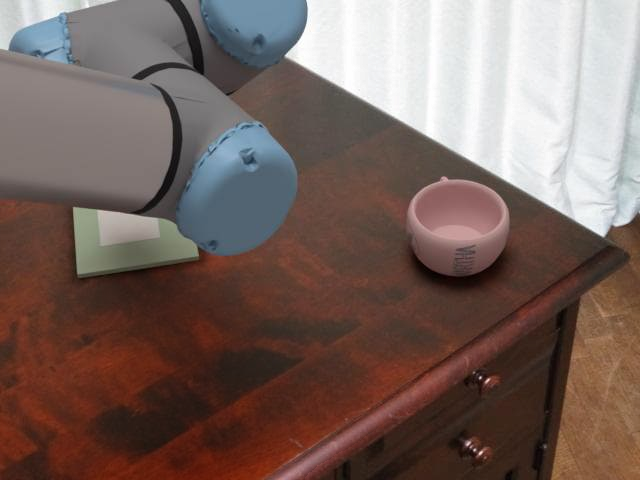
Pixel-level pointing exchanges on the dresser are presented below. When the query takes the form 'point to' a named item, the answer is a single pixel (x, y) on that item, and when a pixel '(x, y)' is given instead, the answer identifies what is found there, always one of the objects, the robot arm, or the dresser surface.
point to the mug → (457, 226)
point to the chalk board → (126, 242)
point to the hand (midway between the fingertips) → (104, 141)
